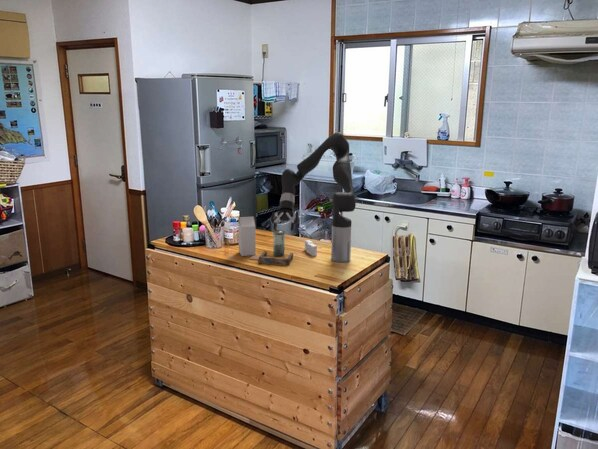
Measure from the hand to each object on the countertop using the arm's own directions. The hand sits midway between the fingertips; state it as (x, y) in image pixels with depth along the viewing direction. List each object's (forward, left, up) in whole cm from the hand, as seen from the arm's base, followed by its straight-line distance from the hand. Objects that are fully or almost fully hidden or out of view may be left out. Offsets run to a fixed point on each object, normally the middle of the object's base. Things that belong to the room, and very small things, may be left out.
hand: (283, 230), depth 252 cm
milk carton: (+16, +10, -11) cm, 22 cm away
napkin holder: (-15, -1, -12) cm, 19 cm away
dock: (-1, +18, -11) cm, 21 cm away
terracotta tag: (+10, +16, -11) cm, 21 cm away
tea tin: (0, +8, -11) cm, 13 cm away
